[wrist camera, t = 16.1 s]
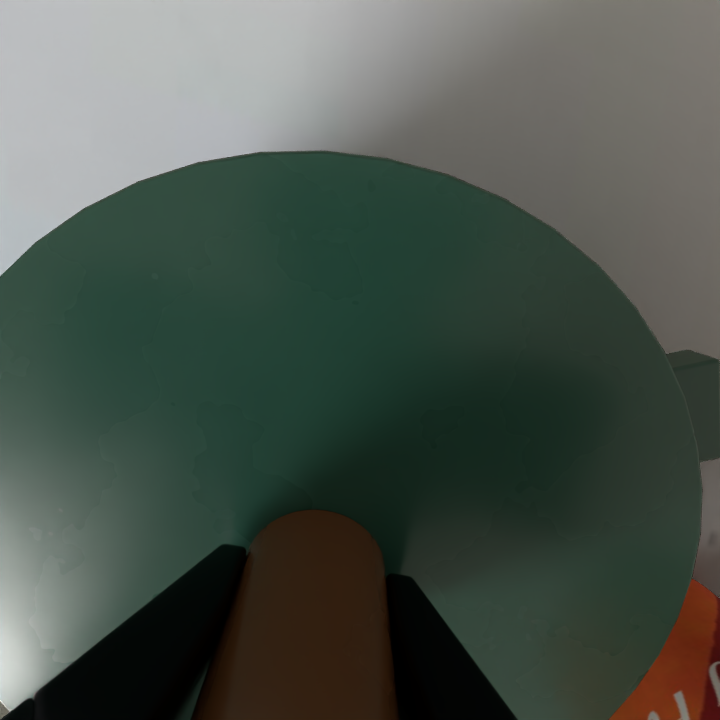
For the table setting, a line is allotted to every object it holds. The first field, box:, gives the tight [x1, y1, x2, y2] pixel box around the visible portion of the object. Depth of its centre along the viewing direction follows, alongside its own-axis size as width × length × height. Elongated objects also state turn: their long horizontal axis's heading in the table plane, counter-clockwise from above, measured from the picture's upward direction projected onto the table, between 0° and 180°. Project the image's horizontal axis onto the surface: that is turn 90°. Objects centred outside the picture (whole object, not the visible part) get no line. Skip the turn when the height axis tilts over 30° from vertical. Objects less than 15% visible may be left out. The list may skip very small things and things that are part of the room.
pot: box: [666, 350, 720, 462], centre depth 12 cm, size 12×18×5 cm
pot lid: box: [0, 151, 703, 720], centre depth 6 cm, size 13×13×5 cm
